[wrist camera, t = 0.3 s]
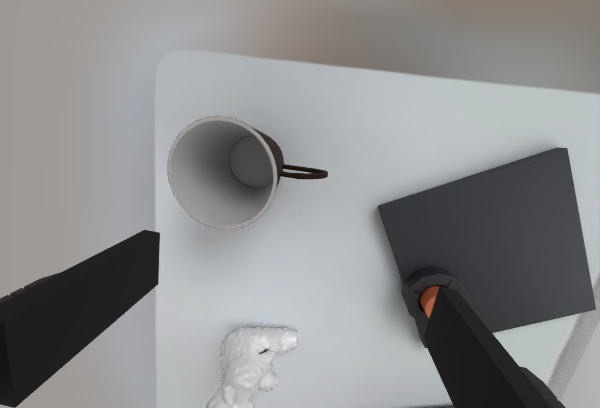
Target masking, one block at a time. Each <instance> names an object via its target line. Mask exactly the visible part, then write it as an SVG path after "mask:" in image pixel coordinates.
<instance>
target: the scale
mask: <svg viewBox="0 0 600 408" xmlns="http://www.w3.org/2000/svg"><path fill="white" fill-rule="evenodd" d="M378 209H379V212H380V215H381V218H382V221H383V224H384V227H385V230H386V233H387V236H388V239H389V242H390V245H391V248H392V251H393V254H394V257H395V260H396V264H397V267H398V270H399V273H400V276H401V279H402V282H403V285H404V287H403V290H402V295H403V298H404V301H405V304H406V307H407V309H408V311H409V314H410V315H411V316H412V317H414V318H415V321H416V325H417V328H418V331H419V334H420V337H421V340H422V342H423V345H424V347H425V348H427V346H426V344H425V342H424V339H423V336H424V333H425V330H426V327H427V324H428V321H429V318H428V316H427V315H426V313H425V311H424V309H423V307H422V305H421V303H420V298H421V295H422V293H423V292H424V291H425V290H426V289H427V288H429V287H432V286H441V287H445V288H450V289H455V290H457V291H458V292H459V293H460V294H461V296H462V297H463V298H464V299H465V301H466V302H467V303H468V304H469V306H470V307H471V308H472V309H473V310H474V312H475V313H476V314H477V315H478V317H479V318H480V319H481V320H482V322H483V323H484V324H485V325H486V326H487V328H488V329H489V330H490V331H491V333H494V332H499V331H503V330H507V329H512V328H516V327H521V326H525V325H530V324H534V323H538V322H543V321H547V320H552V319H556V318H561V317H565V316H569V315H574V314H578V313H583V312H587V311H592V310H596V307H595V301H594V296H593V290H592V285H591V279H590V273H589V268H588V262H587V256H586V251H585V245H584V240H583V234H582V228H581V223H580V217H579V212H578V206H577V200H576V195H575V189H574V183H573V178H572V172H571V167H570V161H569V155H568V150H567V148H555V149H552V150H548V151H545V152H542V153H539V154H536V155H533V156H530V157H527V158H524V159H521V160H518V161H515V162H512V163H509V164H505V165H502V166H499V167H496V168H493V169H490V170H487V171H484V172H481V173H478V174H475V175H472V176H469V177H465V178H462V179H459V180H456V181H453V182H450V183H447V184H444V185H441V186H438V187H435V188H432V189H429V190H426V191H422V192H419V193H416V194H413V195H410V196H407V197H404V198H401V199H398V200H395V201H392V202H389V203H386V204H383V205H379V206H378Z"/></svg>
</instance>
